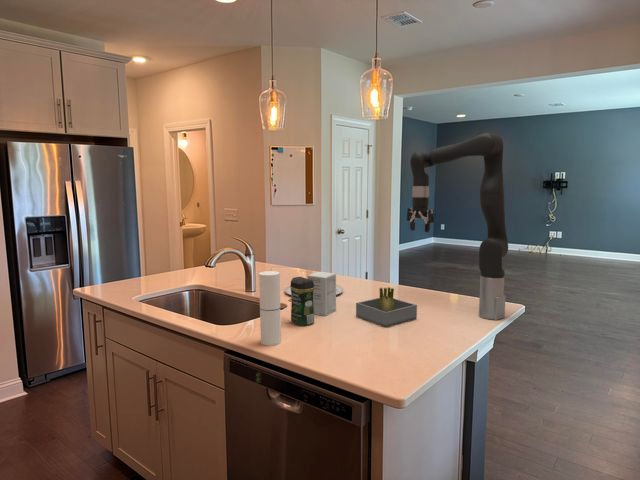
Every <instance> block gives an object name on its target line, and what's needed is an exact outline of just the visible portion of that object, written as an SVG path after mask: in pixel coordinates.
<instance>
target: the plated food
mask: <svg viewBox="0 0 640 480" xmlns="http://www.w3.org/2000/svg"><path fill="white" fill-rule="evenodd" d="M290 286H291V285H288V286H287V287H285V289H284V293H286V294H287V295H290V296H292V295H291V287H290ZM343 292H344V288H343V287H342V286H341V285H338V284H336V296H337V295H340V294H342V293H343Z"/></svg>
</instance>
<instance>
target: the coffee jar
mask: <svg viewBox="0 0 640 480" xmlns="http://www.w3.org/2000/svg"><path fill="white" fill-rule="evenodd" d="M289 286H290V287H291V295H290V296H291V303H290V304H291V305H290V308H291V309H290V321H291V322H292V323H293V324H295V325H297V326H311V325H312V324H314V323H315V314H314V306H313V291H314V282H313V281H312V280H310V279H308V278H307V277H303V276H295V277H292V279H291V280H290V285H289Z"/></svg>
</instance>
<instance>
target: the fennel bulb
mask: <svg viewBox="0 0 640 480" xmlns="http://www.w3.org/2000/svg"><path fill="white" fill-rule="evenodd" d="M394 291H395V289H394V288H393V287H390V286H388V287H379V298H380V299H379V308H380V310H382V311H385V312H388V311H392V310H394V299H395V298H394ZM393 298H394V299H393Z"/></svg>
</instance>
